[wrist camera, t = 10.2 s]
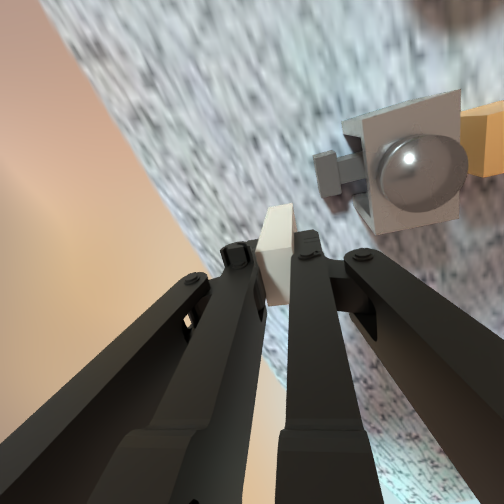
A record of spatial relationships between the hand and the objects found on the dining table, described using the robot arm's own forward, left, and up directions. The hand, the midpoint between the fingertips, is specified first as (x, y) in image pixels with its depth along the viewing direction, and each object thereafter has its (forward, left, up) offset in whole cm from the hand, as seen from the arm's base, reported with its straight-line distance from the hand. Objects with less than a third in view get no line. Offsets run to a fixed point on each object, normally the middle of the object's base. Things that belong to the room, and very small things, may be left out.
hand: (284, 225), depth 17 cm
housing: (0, +9, -14) cm, 17 cm away
